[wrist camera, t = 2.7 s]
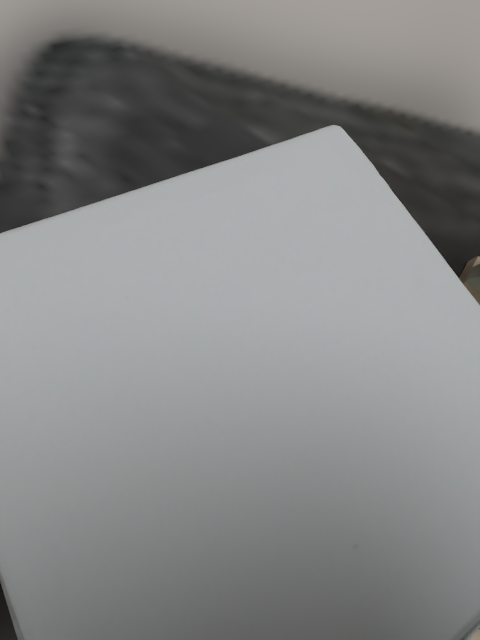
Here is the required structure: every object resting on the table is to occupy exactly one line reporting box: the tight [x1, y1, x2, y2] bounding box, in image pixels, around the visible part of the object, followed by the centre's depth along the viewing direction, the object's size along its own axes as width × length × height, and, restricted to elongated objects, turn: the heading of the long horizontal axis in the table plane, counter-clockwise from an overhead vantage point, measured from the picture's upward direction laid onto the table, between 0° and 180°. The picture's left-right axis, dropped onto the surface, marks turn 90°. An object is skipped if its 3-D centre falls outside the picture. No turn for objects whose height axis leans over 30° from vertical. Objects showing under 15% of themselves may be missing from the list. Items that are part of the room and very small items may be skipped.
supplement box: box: [0, 125, 480, 640], centre depth 10 cm, size 7×7×13 cm
